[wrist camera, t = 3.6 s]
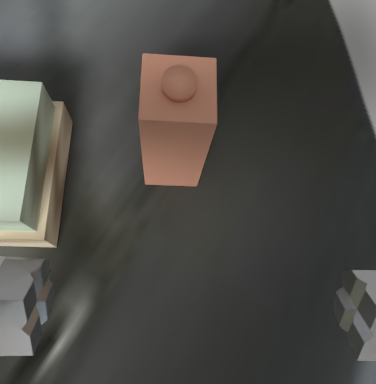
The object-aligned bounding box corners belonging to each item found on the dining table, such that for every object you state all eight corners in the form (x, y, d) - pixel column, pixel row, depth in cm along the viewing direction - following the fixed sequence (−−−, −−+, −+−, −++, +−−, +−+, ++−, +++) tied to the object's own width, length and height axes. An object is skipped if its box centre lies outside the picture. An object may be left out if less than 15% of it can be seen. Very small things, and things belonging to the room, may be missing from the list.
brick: (196, 186, 28) (219, 117, 18) (145, 184, 27) (137, 113, 17) (197, 139, 29) (218, 50, 19) (147, 137, 29) (142, 45, 18)
